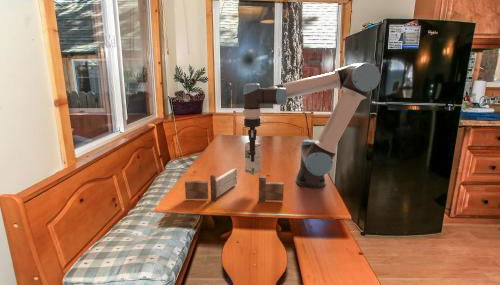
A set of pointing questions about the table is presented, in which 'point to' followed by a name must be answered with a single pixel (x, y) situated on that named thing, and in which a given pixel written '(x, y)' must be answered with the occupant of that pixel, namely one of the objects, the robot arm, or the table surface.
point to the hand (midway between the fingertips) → (252, 164)
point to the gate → (226, 181)
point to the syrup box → (258, 159)
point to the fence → (200, 189)
